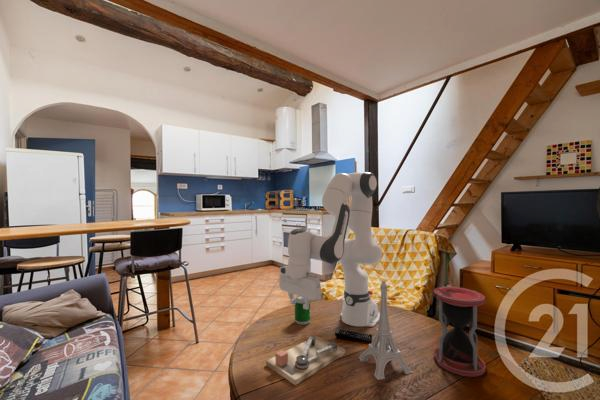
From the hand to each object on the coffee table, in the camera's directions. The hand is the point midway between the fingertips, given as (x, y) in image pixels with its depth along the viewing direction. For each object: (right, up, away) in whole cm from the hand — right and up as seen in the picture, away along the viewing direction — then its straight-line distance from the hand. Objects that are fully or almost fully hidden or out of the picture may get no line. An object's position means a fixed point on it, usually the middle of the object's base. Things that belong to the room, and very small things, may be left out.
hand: (299, 306), depth 108 cm
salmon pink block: (-6, -15, -12) cm, 20 cm away
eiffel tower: (+30, -18, -9) cm, 36 cm away
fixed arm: (+6, -16, -8) cm, 19 cm away
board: (+3, -17, -6) cm, 18 cm away
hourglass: (+57, -17, -8) cm, 60 cm away
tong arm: (+3, -15, -5) cm, 16 cm away
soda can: (+1, -18, +26) cm, 31 cm away
